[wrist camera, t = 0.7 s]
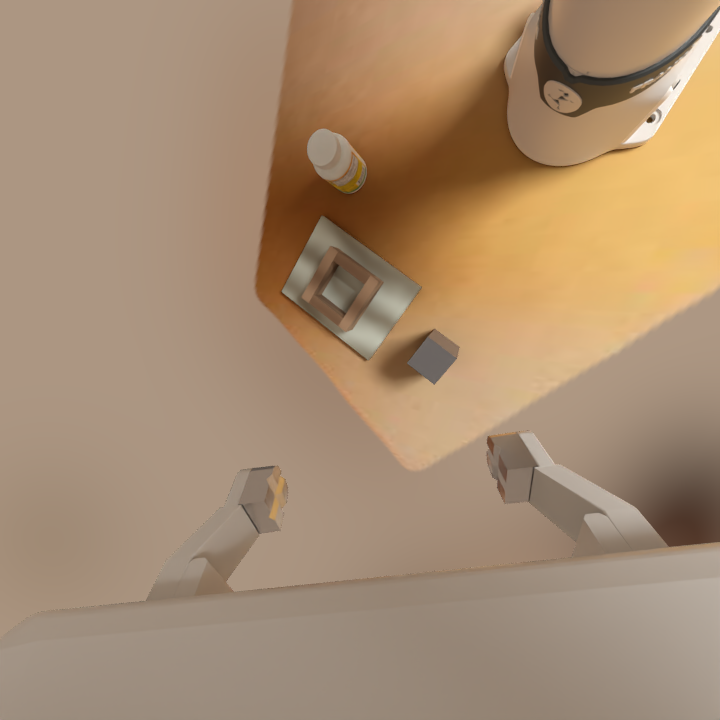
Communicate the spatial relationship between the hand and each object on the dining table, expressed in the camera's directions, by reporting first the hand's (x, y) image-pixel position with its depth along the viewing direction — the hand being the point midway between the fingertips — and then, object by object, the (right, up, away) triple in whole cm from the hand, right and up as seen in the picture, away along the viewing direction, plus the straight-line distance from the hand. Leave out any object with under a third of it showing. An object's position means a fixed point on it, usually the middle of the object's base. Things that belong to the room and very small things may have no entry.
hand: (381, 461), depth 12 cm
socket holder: (-3, +15, +38) cm, 41 cm away
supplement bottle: (-2, +31, +34) cm, 46 cm away
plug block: (+11, +6, +35) cm, 37 cm away
